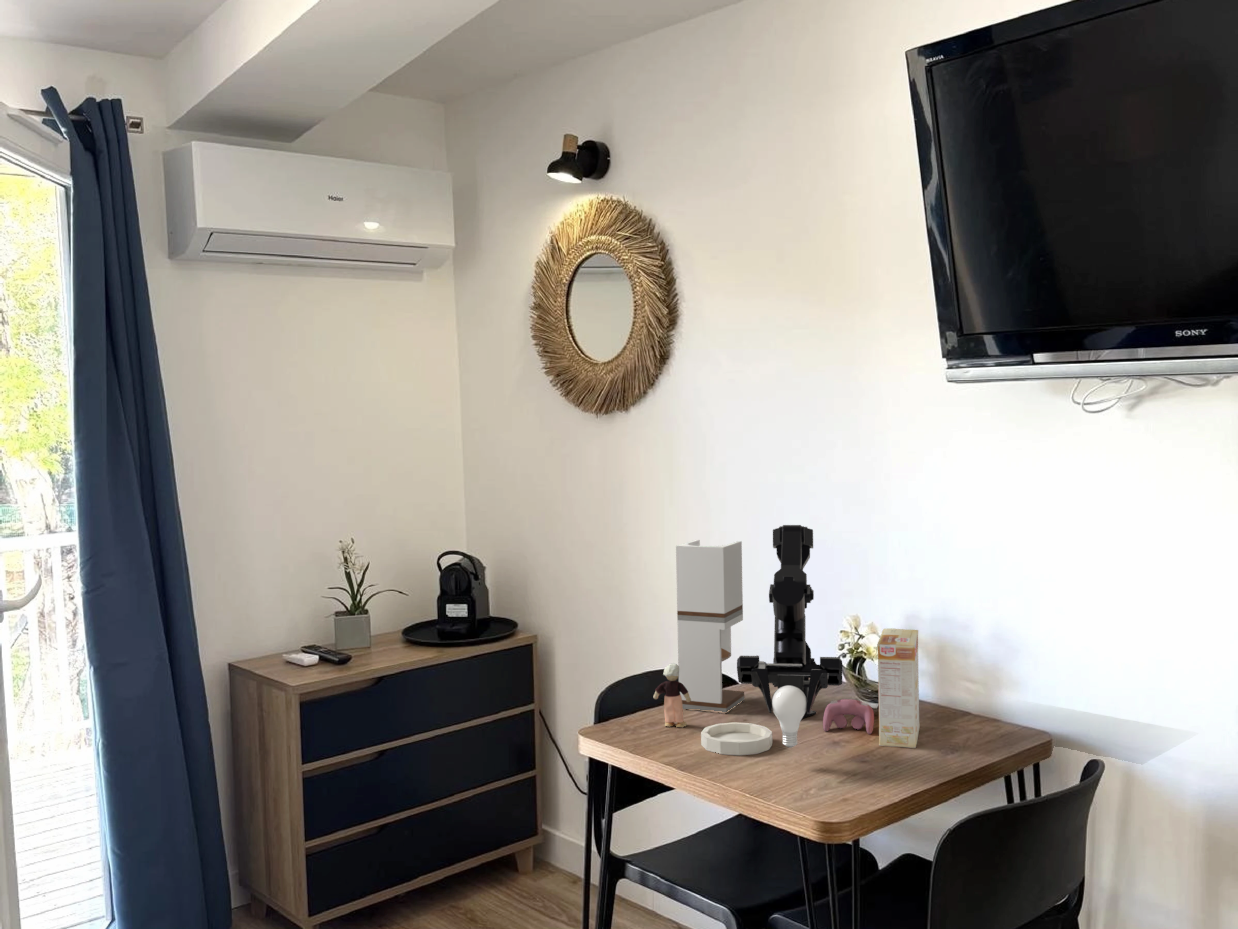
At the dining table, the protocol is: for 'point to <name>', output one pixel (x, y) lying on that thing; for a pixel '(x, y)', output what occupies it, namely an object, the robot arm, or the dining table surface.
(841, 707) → the video game controller
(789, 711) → the lightbulb
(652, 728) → the dining table surface
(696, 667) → the white tower with stripe
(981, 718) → the dining table surface
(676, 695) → the grandmother figurine
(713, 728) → the dish
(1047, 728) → the dining table surface
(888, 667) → the coffeecake box
